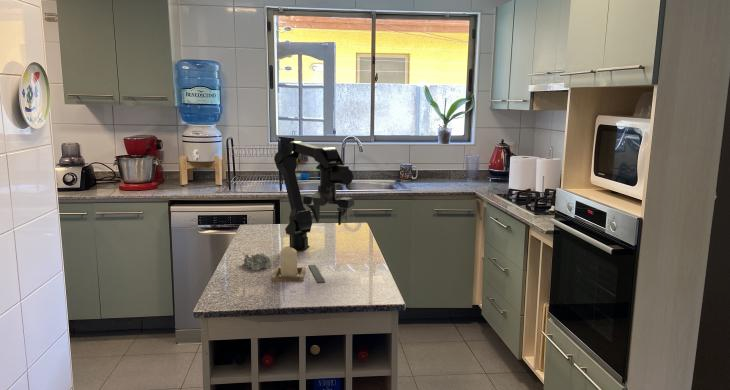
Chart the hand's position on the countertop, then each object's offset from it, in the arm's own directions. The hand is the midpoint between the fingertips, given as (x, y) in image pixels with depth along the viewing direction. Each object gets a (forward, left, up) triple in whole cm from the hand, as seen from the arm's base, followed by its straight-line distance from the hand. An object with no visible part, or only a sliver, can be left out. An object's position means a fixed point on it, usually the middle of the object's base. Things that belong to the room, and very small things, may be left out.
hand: (328, 223), depth 190 cm
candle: (-2, -24, -13) cm, 27 cm away
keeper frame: (-2, -24, -13) cm, 27 cm away
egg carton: (-19, -19, -14) cm, 30 cm away
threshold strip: (+5, -18, -13) cm, 23 cm away
